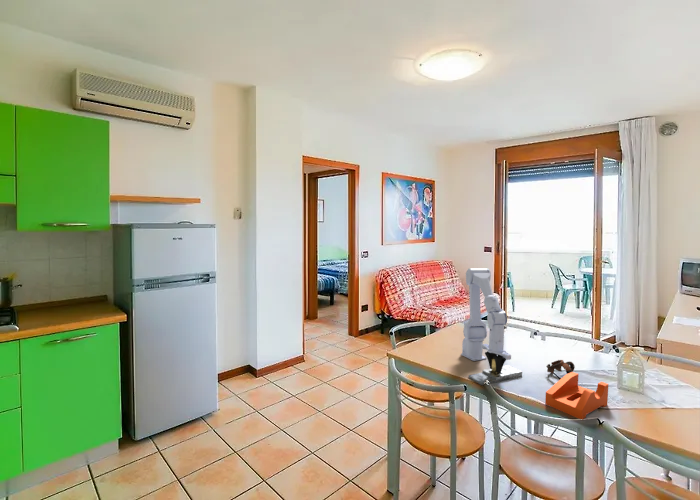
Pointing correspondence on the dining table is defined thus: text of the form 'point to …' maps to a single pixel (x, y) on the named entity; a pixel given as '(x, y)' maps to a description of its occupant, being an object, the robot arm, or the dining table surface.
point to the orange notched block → (576, 396)
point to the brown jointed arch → (559, 364)
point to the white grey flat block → (505, 374)
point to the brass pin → (494, 367)
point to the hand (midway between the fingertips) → (495, 370)
